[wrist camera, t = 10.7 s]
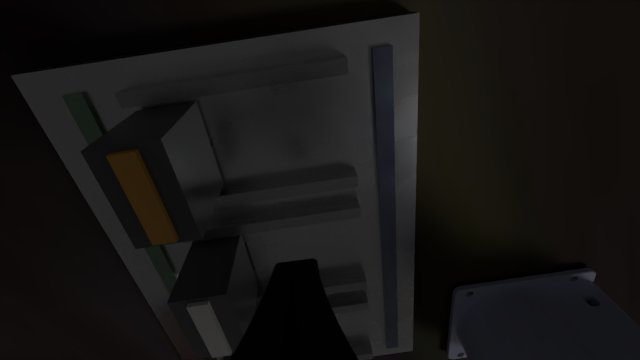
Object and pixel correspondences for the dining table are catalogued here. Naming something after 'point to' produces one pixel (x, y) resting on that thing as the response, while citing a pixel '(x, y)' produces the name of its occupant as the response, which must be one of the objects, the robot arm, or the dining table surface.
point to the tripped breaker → (158, 174)
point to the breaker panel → (274, 159)
